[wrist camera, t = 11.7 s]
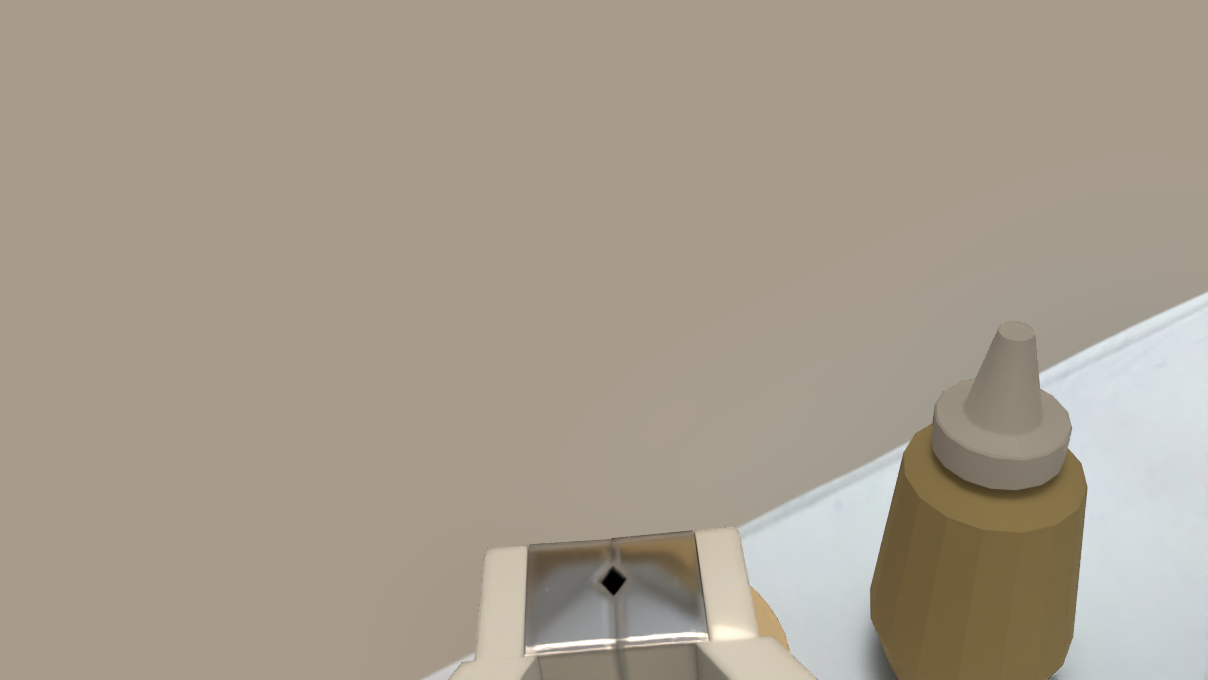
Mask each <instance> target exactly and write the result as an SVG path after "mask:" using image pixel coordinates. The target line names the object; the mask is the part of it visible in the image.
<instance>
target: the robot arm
mask: <svg viewBox="0 0 1208 680" xmlns="http://www.w3.org/2000/svg"><path fill="white" fill-rule="evenodd" d="M448 680H818V679H817V678H816V677H815V676H814V675H813V674H812V673H811V672H810V671H808V670H807V669H806V668H805V667H804V666H803V665H802V664H801V663H800V662H799V661H798V660H797V659H796V658H795V657H794V656H793V655H792V654H791V653H790V652H789V651H788V650H787V649H785V648H784V647H783V646H782V645H781V644H780V643H779V642H778V641H777V640H776V639H775V638H774V637H773V636H763V637H760V636H759V631H758V625H757V620H756V615H755V610H754V605H753V600H752V595H751V590H750V584H749V579H748V574H747V569H746V564H745V559H744V554H743V549H742V543H741V538H740V533H739V531H738V530H737V528H736V527H735V526H734V527H724V528H713V529H704V530H695V531H694V533H693V531H692V530H691V531H681V532H670V533H660V534H651V535H640V536H630V537H620V538H612V539H606V540H590V541H575V542H560V543H559V542H558V543H542V544H530V545H523V546H507V547H492V548H487V550H486V553H485V556H484V559H483V570H482V581H481V592H480V603H479V615H478V627H477V638H476V649H475V661H468V662H462V663H461V664H460V665H459V667H458V668H457V669H456V670H455V672H454V673H453V674H452V675H451V677H450V678H449V679H448Z"/></svg>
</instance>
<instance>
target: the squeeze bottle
mask: <svg viewBox="0 0 1208 680" xmlns="http://www.w3.org/2000/svg"><path fill="white" fill-rule="evenodd" d="M1071 431H1072V426H1071V422H1070V419H1069V415H1068V412H1067V411H1066V410H1065V408H1064V407H1063V406H1062V405H1061V404H1060V403H1059V402H1058V401H1057V400H1056V399H1055V398H1054V397H1053V396H1052V395H1050V394H1048V393H1047V392H1045V391H1043V390H1041V389H1040V383H1039V372H1038V361H1037V351H1036V339H1035V332H1034V329H1033V328H1032V327H1031V326H1029V325H1027V324H1025V323H1021V322H1006V323H1003V324H1002V325H1000V327H999V328H998V331H997V333H996V335H995V337H994V339H993V341H992V344H991V346H990V348H989V350H988V353H987V355H986V357H985V359H984V361H983V363H982V366H981V368H980V370H979V372H978V374H977V377H976V378H975V379H970V380H965V381H961V382H959V383H957V384H955V385H954V386H952V387H950V388H948V389H947V390H945V391H943V393H942V394H941V396H940V397H939V399H938V401H937V402H936V404H935V407H934V415H933V423H932V424H931V425H929V426H927V427H926V428H924V429H922V430H921V431H919V432H917V433H916V434H915V435H914V437H913V438H912V440H911V441H910V443H909V445H908V446H907V448H906V450H905V451H904V453H903V457H902V461H901V465H900V470H899V474H898V478H897V482H896V486H895V490H894V494H893V498H892V502H891V506H890V510H889V514H888V518H887V523H886V527H885V531H884V535H883V539H882V543H881V547H880V551H879V555H878V559H877V563H876V567H875V571H874V576H873V580H872V584H871V588H870V606H871V620H872V622H873V625H874V627H875V629H876V632H877V634H878V637H879V639H880V641H881V644H882V646H883V649H884V651H885V654H886V656H887V658H888V661H889V663H890V666H891V668H892V670H893V672H894V674H895V676H896V678H897V679H898V680H1048V679H1049V678H1050V677H1051V676H1052V675H1053V674H1054V673H1055V672H1056V671H1057V670H1058V669H1059V668H1060V667H1061V666H1062V665H1063V663H1064V660H1065V657H1066V655H1067V652H1068V649H1069V646H1070V644H1071V641H1072V638H1073V631H1074V621H1075V611H1076V600H1077V590H1078V580H1079V569H1080V559H1081V549H1082V538H1083V528H1084V518H1085V507H1086V497H1087V483H1086V480H1085V476H1084V472H1083V468H1082V464H1081V463H1080V461H1079V460H1078V459H1077V458H1076V457H1075V456H1074V455H1073V453H1072V452H1071V451H1070V450H1069V449H1068V444H1069V440H1070V436H1071Z"/></svg>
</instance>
